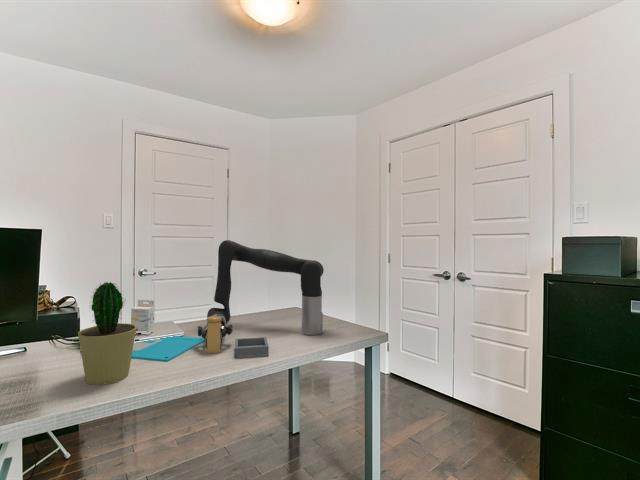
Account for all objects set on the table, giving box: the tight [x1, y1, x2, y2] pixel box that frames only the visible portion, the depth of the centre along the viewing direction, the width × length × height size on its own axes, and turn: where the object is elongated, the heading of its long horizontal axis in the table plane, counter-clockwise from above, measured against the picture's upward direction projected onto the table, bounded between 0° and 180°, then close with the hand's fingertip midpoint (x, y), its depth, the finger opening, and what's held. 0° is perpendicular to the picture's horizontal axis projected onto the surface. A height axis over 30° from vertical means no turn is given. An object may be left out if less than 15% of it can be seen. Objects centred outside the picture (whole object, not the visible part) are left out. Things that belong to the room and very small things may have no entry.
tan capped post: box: [206, 316, 222, 354], centre depth 130 cm, size 5×5×13 cm
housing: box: [234, 336, 270, 359], centre depth 129 cm, size 12×12×4 cm
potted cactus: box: [77, 281, 137, 386], centre depth 104 cm, size 15×15×30 cm
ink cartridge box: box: [130, 299, 156, 332], centre depth 152 cm, size 9×5×15 cm, turn 84°
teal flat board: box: [131, 335, 207, 362], centre depth 134 cm, size 26×28×1 cm
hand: (213, 335), depth 128 cm, fingers open, 6 cm apart
